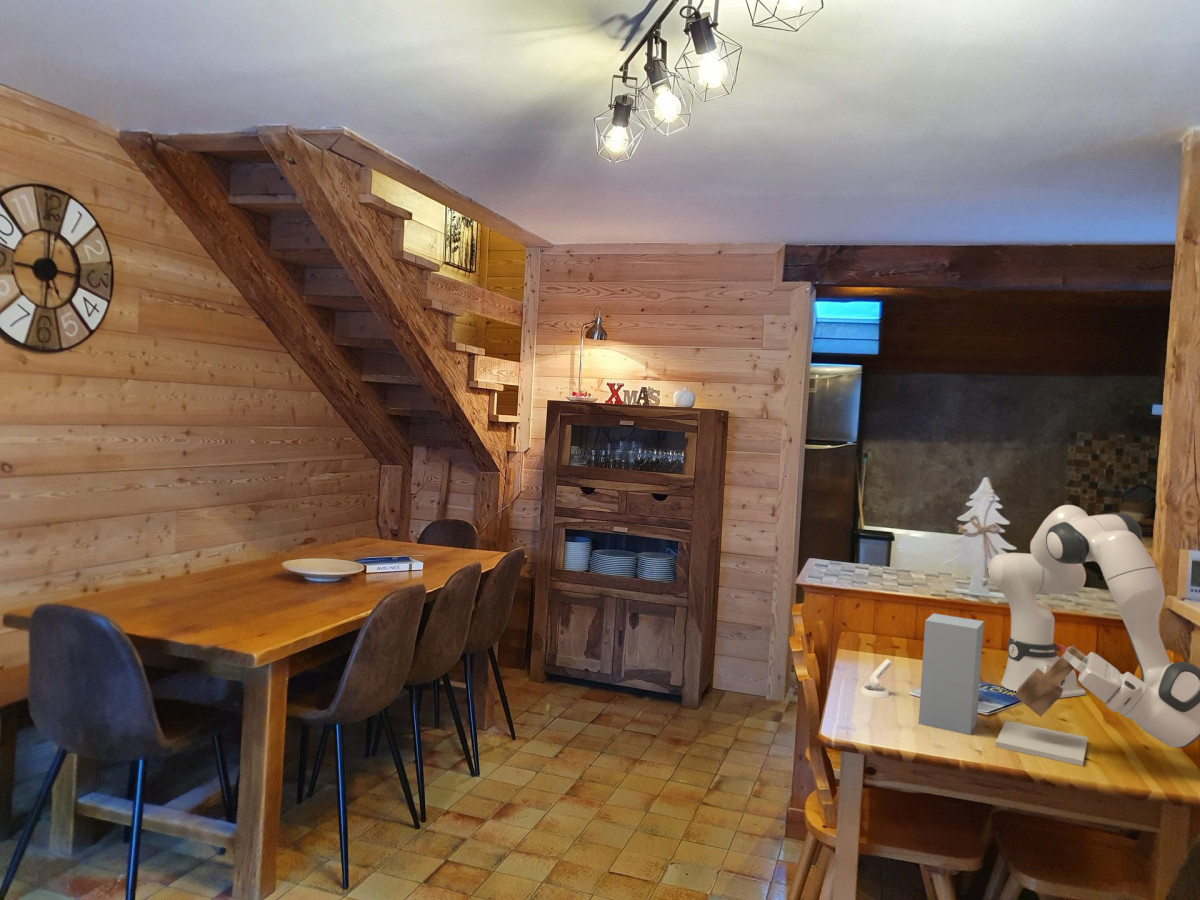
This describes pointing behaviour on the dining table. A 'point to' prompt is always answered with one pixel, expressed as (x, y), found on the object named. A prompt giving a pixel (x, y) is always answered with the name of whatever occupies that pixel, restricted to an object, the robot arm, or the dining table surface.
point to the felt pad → (1043, 742)
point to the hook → (877, 682)
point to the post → (951, 673)
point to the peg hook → (1046, 684)
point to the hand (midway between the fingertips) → (1065, 651)
